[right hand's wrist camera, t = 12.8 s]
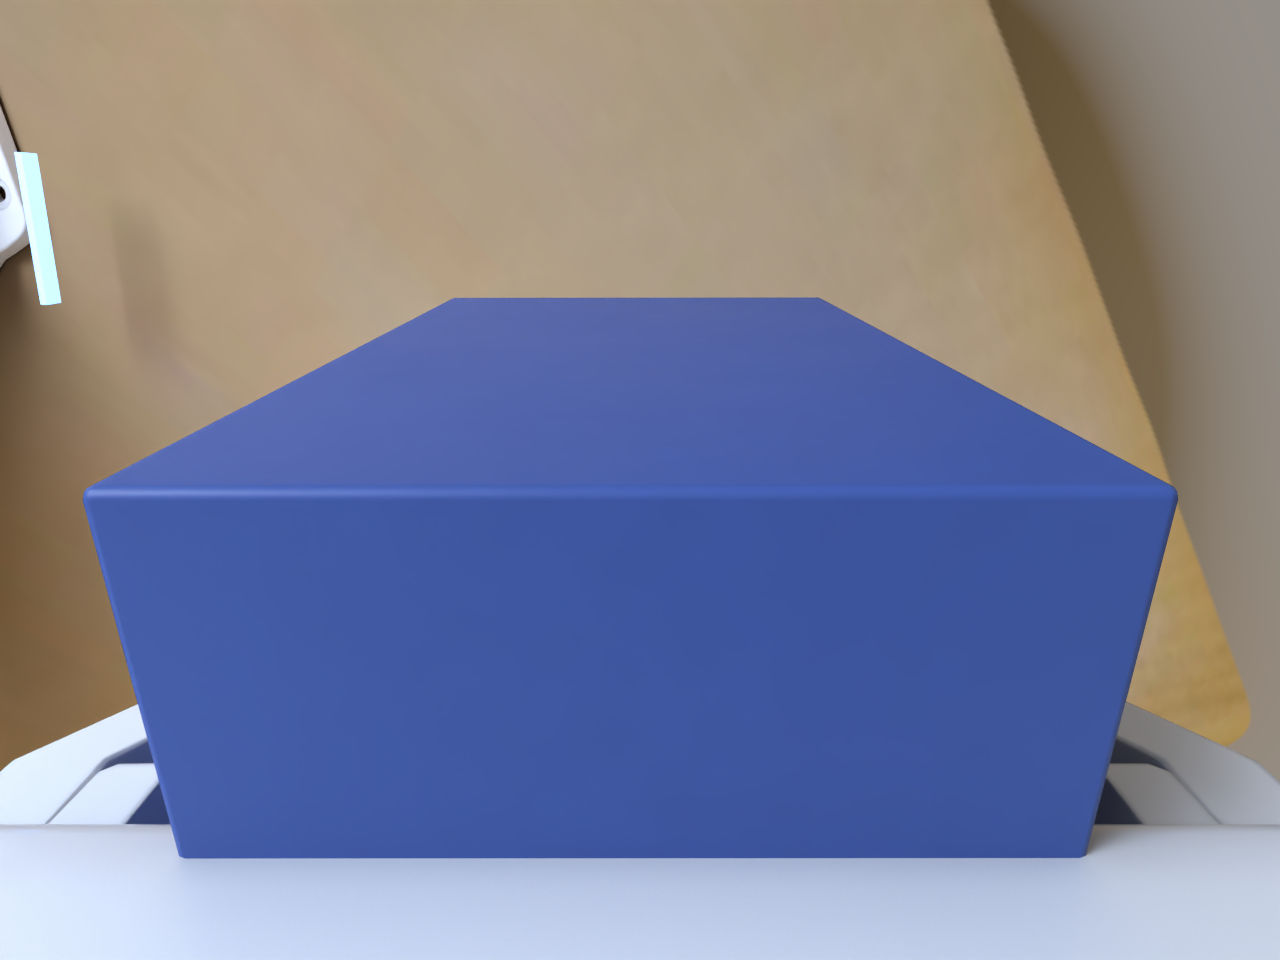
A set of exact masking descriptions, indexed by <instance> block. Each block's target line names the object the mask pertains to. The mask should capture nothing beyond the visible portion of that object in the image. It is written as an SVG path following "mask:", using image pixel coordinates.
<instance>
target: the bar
mask: <svg viewBox="0 0 1280 960" xmlns="http://www.w3.org/2000/svg"><path fill="white" fill-rule="evenodd" d="M1177 502H1178V495H1177V491H1176V489H1175V488H1174V487H1173V486H1171V485H1169V484H1167V483H1166V482H1164V481H1162V480H1160V479H1158V478H1156V477H1154V476H1152V475H1151V474H1149V473H1147V472H1145V471H1143V470H1141V469H1139V468H1137V467H1136V466H1134V465H1132V464H1130V463H1128V462H1126V461H1124V460H1122V459H1121V458H1119V457H1117V456H1115V455H1113V454H1111V453H1109V452H1107V451H1106V450H1104V449H1102V448H1100V447H1098V446H1096V445H1094V444H1092V443H1091V442H1089V441H1087V440H1085V439H1083V438H1081V437H1079V436H1077V435H1076V434H1074V433H1072V432H1070V431H1068V430H1066V429H1064V428H1062V427H1061V426H1059V425H1057V424H1055V423H1053V422H1051V421H1049V420H1047V419H1046V418H1044V417H1042V416H1040V415H1038V414H1036V413H1034V412H1032V411H1031V410H1029V409H1027V408H1025V407H1023V406H1021V405H1019V404H1017V403H1016V402H1014V401H1012V400H1010V399H1008V398H1006V397H1004V396H1002V395H1001V394H999V393H997V392H995V391H993V390H991V389H989V388H987V387H985V386H984V385H982V384H980V383H978V382H976V381H974V380H972V379H970V378H969V377H967V376H965V375H963V374H961V373H959V372H957V371H955V370H954V369H952V368H950V367H948V366H946V365H944V364H942V363H940V362H939V361H937V360H935V359H933V358H931V357H929V356H927V355H925V354H924V353H922V352H920V351H918V350H916V349H914V348H912V347H910V346H909V345H907V344H905V343H903V342H901V341H899V340H897V339H895V338H894V337H892V336H890V335H888V334H886V333H884V332H882V331H880V330H879V329H877V328H875V327H873V326H871V325H869V324H867V323H865V322H864V321H862V320H860V319H858V318H856V317H854V316H852V315H850V314H849V313H847V312H845V311H843V310H841V309H839V308H837V307H835V306H834V305H832V304H830V303H828V302H826V301H824V300H822V299H820V298H453V299H451V300H449V301H447V302H445V303H443V304H442V305H440V306H438V307H436V308H434V309H432V310H430V311H428V312H426V313H424V314H422V315H420V316H418V317H416V318H414V319H413V320H411V321H409V322H407V323H405V324H403V325H401V326H399V327H397V328H395V329H393V330H391V331H389V332H387V333H386V334H384V335H382V336H380V337H378V338H376V339H374V340H372V341H370V342H368V343H366V344H364V345H362V346H360V347H359V348H357V349H355V350H353V351H351V352H349V353H347V354H345V355H343V356H341V357H339V358H337V359H335V360H333V361H331V362H330V363H328V364H326V365H324V366H322V367H320V368H318V369H316V370H314V371H312V372H310V373H308V374H306V375H304V376H303V377H301V378H299V379H297V380H295V381H293V382H291V383H289V384H287V385H285V386H283V387H281V388H279V389H277V390H275V391H274V392H272V393H270V394H268V395H266V396H264V397H262V398H260V399H258V400H256V401H254V402H252V403H250V404H248V405H247V406H245V407H243V408H241V409H239V410H237V411H235V412H233V413H231V414H229V415H227V416H225V417H223V418H221V419H220V420H218V421H216V422H214V423H212V424H210V425H208V426H206V427H204V428H202V429H200V430H198V431H196V432H194V433H192V434H191V435H189V436H187V437H185V438H183V439H181V440H179V441H177V442H175V443H173V444H171V445H169V446H167V447H165V448H164V449H162V450H160V451H158V452H156V453H154V454H152V455H150V456H148V457H146V458H144V459H142V460H140V461H138V462H137V463H135V464H133V465H131V466H129V467H127V468H125V469H123V470H121V471H119V472H117V473H115V474H113V475H111V476H109V477H108V478H106V479H104V480H102V481H100V482H98V483H96V484H94V485H92V486H90V487H88V488H87V489H86V490H85V492H84V496H83V503H84V506H85V510H86V514H87V517H88V521H89V525H90V528H91V532H92V536H93V540H94V543H95V547H96V551H97V554H98V558H99V562H100V565H101V569H102V573H103V577H104V580H105V584H106V588H107V591H108V595H109V599H110V602H111V606H112V610H113V614H114V617H115V621H116V625H117V628H118V632H119V636H120V639H121V643H122V647H123V651H124V654H125V658H126V662H127V665H128V669H129V673H130V676H131V680H132V684H133V688H134V691H135V695H136V699H137V702H138V706H139V710H140V713H141V717H142V721H143V725H144V728H145V732H146V736H147V739H148V743H149V747H150V750H151V754H152V758H153V762H154V765H155V769H156V773H157V776H158V780H159V784H160V787H161V791H162V795H163V799H164V802H165V806H166V810H167V813H168V817H169V821H170V824H171V828H172V832H173V836H174V839H175V843H176V847H177V850H178V854H179V856H180V857H182V858H185V859H220V858H1081V857H1084V856H1086V853H1087V849H1088V845H1089V841H1090V837H1091V833H1092V829H1093V826H1094V822H1095V818H1096V814H1097V810H1098V806H1099V802H1100V799H1101V795H1102V791H1103V787H1104V783H1105V779H1106V775H1107V772H1108V768H1109V764H1110V760H1111V756H1112V752H1113V748H1114V745H1115V741H1116V737H1117V733H1118V729H1119V725H1120V721H1121V718H1122V714H1123V710H1124V706H1125V702H1126V698H1127V694H1128V691H1129V687H1130V683H1131V679H1132V675H1133V671H1134V667H1135V664H1136V660H1137V656H1138V652H1139V648H1140V644H1141V640H1142V637H1143V633H1144V629H1145V625H1146V621H1147V617H1148V613H1149V610H1150V606H1151V602H1152V598H1153V594H1154V590H1155V586H1156V583H1157V579H1158V575H1159V571H1160V567H1161V563H1162V559H1163V556H1164V552H1165V548H1166V544H1167V540H1168V536H1169V532H1170V529H1171V525H1172V521H1173V517H1174V513H1175V509H1176V505H1177Z"/></svg>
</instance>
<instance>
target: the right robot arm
mask: <svg viewBox="0 0 1280 960" xmlns="http://www.w3.org/2000/svg"><path fill="white" fill-rule="evenodd" d="M0 187H2V188H3V189H4V191H5V193H6V198H5V200H4V199H3V198H2V196H1V195H0V267H1V266H2V264H3V263H4V262H5V260H6V259H8V258H9V257H11V256H13V255H14V254H15V253H17V252H18V251H20V250H21V249H23V248H24V247H25V246H27V245H28V244H29V243H30V246H31V251H32V257H33V263H34V269H35V274H36V280H37V286H38V292H39V298H40V303H41V304H43V305H49V304H55V303H61V298H60V292H59V286H58V280H57V274H56V268H55V262H54V256H53V250H52V244H51V237H50V231H49V225H48V219H47V213H46V207H45V201H44V195H43V189H42V183H41V176H40V170H39V164H38V158H37V154H34V153H22V152H17V149H16V147H15V144H14V141H13V138H12V136H11V133H10V130H9V128H8V125H7V122H6V119H5V117H4V114H3V111H2V109H1V106H0ZM0 960H1280V781H1278V780H1277V779H1276V778H1275V777H1274V776H1273V775H1272V774H1271V773H1270V772H1269V771H1267V770H1266V769H1265V768H1264V767H1263V766H1262V765H1261V764H1260V763H1259V762H1258V761H1255V760H1253V759H1251V758H1249V757H1247V756H1244V755H1242V754H1240V753H1238V752H1236V751H1234V750H1231V749H1229V748H1227V747H1225V746H1223V745H1220V744H1218V743H1216V742H1214V741H1212V740H1209V739H1207V738H1205V737H1203V736H1201V735H1198V734H1196V733H1194V732H1192V731H1190V730H1187V729H1185V728H1183V727H1181V726H1179V725H1176V724H1174V723H1172V722H1170V721H1168V720H1166V719H1163V718H1161V717H1159V716H1157V715H1155V714H1152V713H1150V712H1148V711H1146V710H1144V709H1141V708H1139V707H1137V706H1135V705H1133V704H1130V703H1128V702H1125V706H1124V710H1123V714H1122V718H1121V721H1120V725H1119V729H1118V733H1117V737H1116V741H1115V745H1114V748H1113V752H1112V756H1111V760H1110V764H1109V768H1108V772H1107V775H1106V779H1105V783H1104V787H1103V791H1102V795H1101V799H1100V802H1099V806H1098V810H1097V814H1096V818H1095V822H1094V826H1093V829H1092V833H1091V837H1090V841H1089V845H1088V849H1087V853H1086V856H1084V857H1081V858H220V859H185V858H182V857H180V856H179V854H178V850H177V847H176V843H175V839H174V836H173V832H172V828H171V824H170V821H169V817H168V813H167V810H166V806H165V802H164V799H163V795H162V791H161V787H160V784H159V780H158V776H157V773H156V769H155V765H154V762H153V758H152V754H151V750H150V747H149V743H148V739H147V736H146V732H145V728H144V725H143V721H142V717H141V713H140V710H139V706H138V704H137V705H135V706H133V707H131V708H128V709H126V710H124V711H122V712H119V713H117V714H115V715H113V716H111V717H108V718H106V719H104V720H102V721H99V722H97V723H95V724H93V725H91V726H88V727H86V728H84V729H82V730H79V731H77V732H75V733H73V734H71V735H68V736H66V737H64V738H62V739H59V740H57V741H55V742H53V743H51V744H48V745H46V746H44V747H42V748H39V749H37V750H35V751H33V752H31V753H28V754H26V755H24V756H22V757H19V758H17V759H15V760H13V761H12V762H11V763H10V764H8V765H7V766H6V767H5V768H4V769H3V770H2V771H1V772H0Z"/></svg>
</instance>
